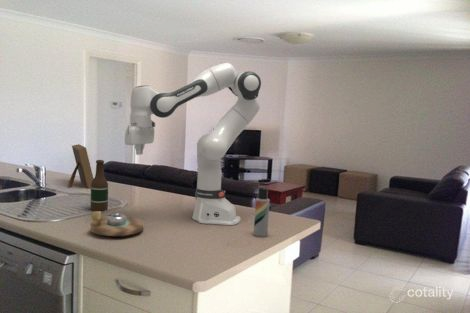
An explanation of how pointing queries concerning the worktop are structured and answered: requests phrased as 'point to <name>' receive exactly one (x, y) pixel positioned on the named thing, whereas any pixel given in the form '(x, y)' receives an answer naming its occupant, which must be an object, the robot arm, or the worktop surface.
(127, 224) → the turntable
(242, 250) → the worktop surface
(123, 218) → the cover
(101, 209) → the beer bottle
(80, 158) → the photo frame
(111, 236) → the turntable base
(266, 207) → the lotion bottle
